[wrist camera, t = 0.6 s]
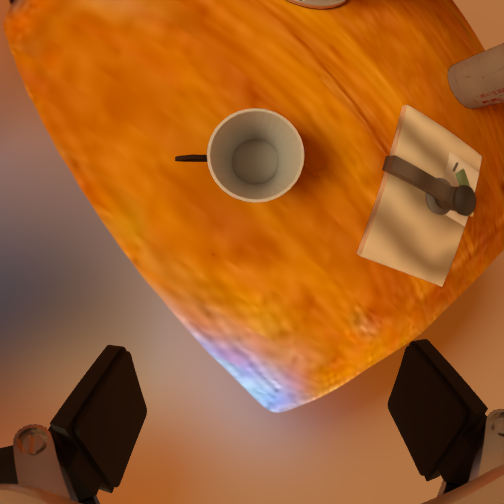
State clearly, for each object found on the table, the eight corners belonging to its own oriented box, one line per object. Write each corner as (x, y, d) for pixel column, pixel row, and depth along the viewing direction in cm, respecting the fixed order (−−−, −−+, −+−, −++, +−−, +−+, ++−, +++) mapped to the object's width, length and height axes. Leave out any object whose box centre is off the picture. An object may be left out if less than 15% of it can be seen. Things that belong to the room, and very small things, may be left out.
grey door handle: (473, 202, 32) (496, 207, 27) (466, 225, 33) (489, 232, 28) (384, 149, 31) (405, 145, 25) (376, 177, 32) (396, 177, 26)
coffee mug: (301, 147, 33) (319, 134, 23) (271, 208, 35) (277, 218, 25) (217, 108, 32) (203, 82, 22) (186, 168, 34) (162, 165, 24)
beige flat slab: (402, 106, 31) (409, 103, 29) (476, 156, 32) (484, 156, 30) (356, 253, 36) (361, 257, 34) (437, 283, 38) (444, 288, 36)
